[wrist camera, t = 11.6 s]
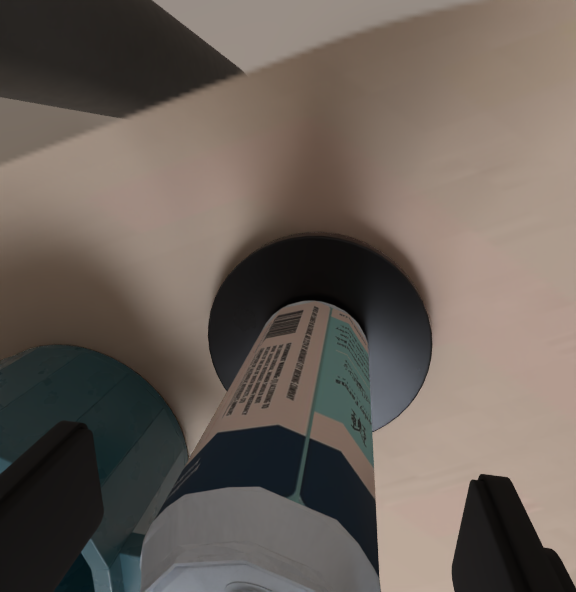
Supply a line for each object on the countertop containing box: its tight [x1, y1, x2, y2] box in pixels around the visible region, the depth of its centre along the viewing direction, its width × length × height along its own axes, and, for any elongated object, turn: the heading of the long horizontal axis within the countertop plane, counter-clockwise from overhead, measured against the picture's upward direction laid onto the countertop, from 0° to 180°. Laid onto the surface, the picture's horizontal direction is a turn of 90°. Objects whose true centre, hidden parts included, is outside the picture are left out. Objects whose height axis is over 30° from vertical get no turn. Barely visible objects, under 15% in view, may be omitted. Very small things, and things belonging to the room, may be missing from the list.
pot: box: [0, 345, 188, 592], centre depth 20 cm, size 13×18×8 cm
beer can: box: [140, 301, 381, 592], centre depth 13 cm, size 5×5×12 cm
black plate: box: [208, 232, 432, 432], centre depth 19 cm, size 10×10×1 cm
